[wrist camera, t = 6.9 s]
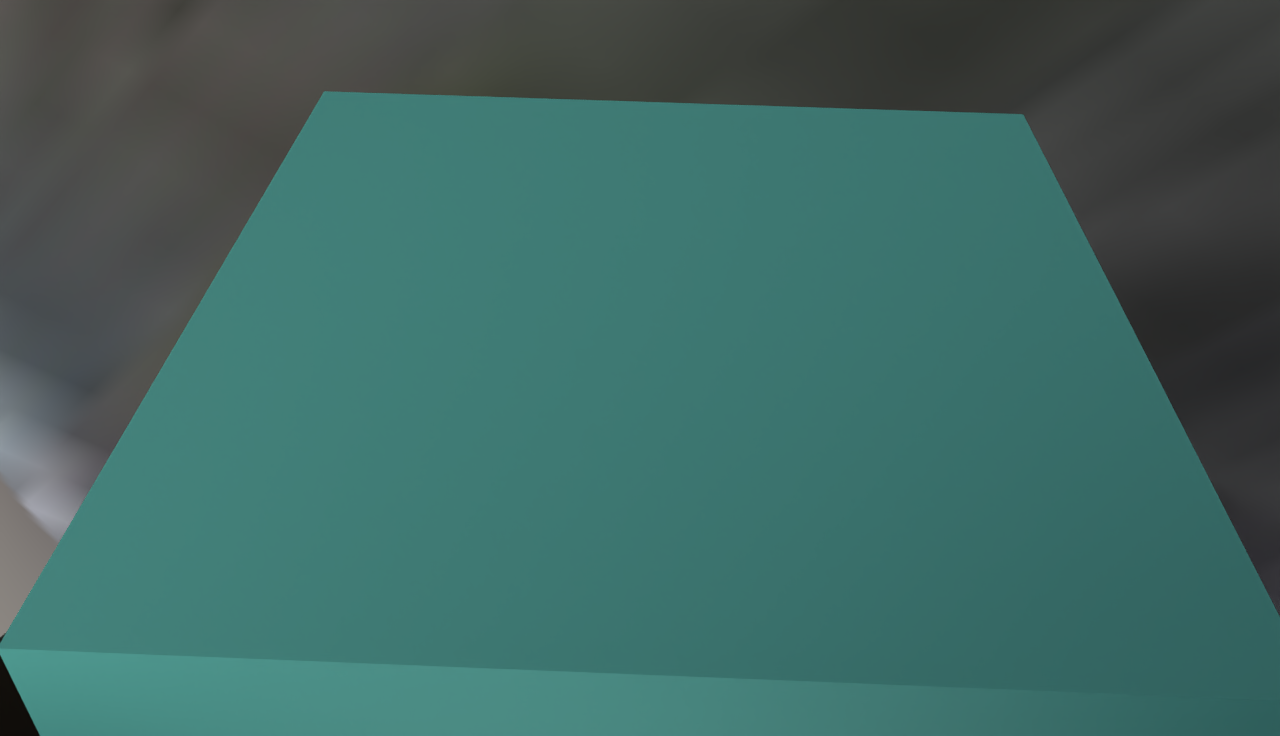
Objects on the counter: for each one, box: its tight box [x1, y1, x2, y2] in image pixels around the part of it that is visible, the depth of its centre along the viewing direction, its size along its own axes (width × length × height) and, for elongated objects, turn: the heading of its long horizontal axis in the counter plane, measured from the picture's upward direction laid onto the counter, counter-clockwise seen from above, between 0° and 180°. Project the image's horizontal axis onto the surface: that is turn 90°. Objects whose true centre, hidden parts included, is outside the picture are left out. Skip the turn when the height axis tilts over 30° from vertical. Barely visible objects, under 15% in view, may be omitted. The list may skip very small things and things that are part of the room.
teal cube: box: [0, 91, 1280, 736], centre depth 8 cm, size 5×5×5 cm
